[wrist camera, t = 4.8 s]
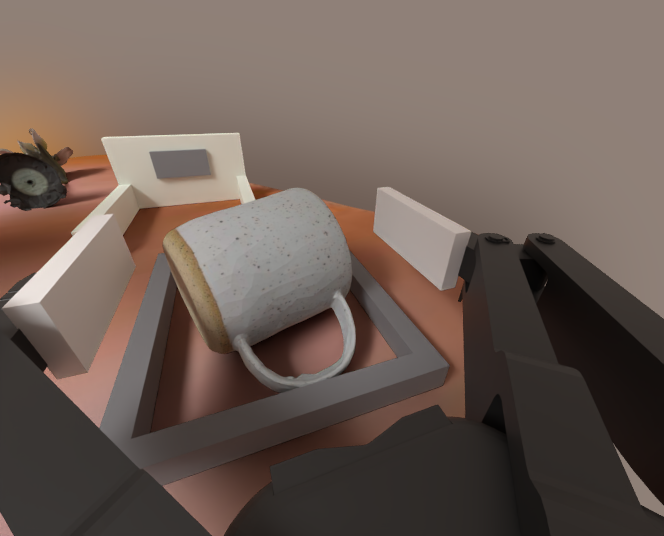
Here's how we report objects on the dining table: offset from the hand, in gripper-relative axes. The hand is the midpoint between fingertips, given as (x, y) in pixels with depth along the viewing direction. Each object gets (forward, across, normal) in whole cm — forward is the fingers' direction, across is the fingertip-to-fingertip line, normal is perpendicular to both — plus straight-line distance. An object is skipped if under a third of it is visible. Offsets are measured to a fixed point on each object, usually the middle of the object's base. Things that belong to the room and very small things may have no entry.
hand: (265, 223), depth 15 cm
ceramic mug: (-1, 0, -7) cm, 7 cm away
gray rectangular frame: (0, 0, -6) cm, 6 cm away
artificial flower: (+40, -28, -7) cm, 49 cm away
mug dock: (+18, -6, -6) cm, 20 cm away
